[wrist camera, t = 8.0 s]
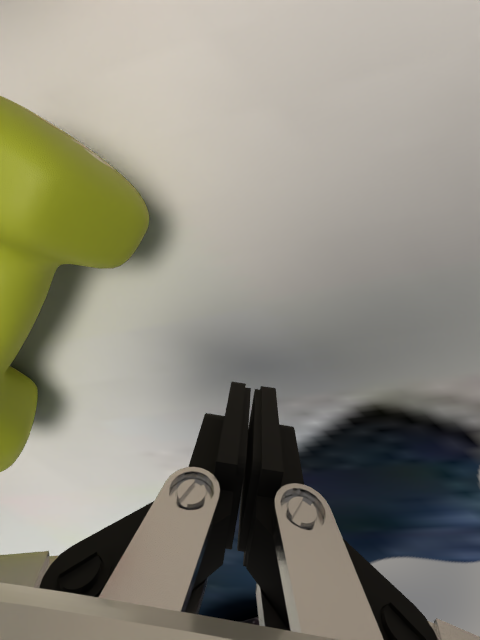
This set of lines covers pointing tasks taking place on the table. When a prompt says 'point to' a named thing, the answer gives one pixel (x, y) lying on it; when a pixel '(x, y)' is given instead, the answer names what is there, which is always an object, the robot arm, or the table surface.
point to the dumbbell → (50, 240)
